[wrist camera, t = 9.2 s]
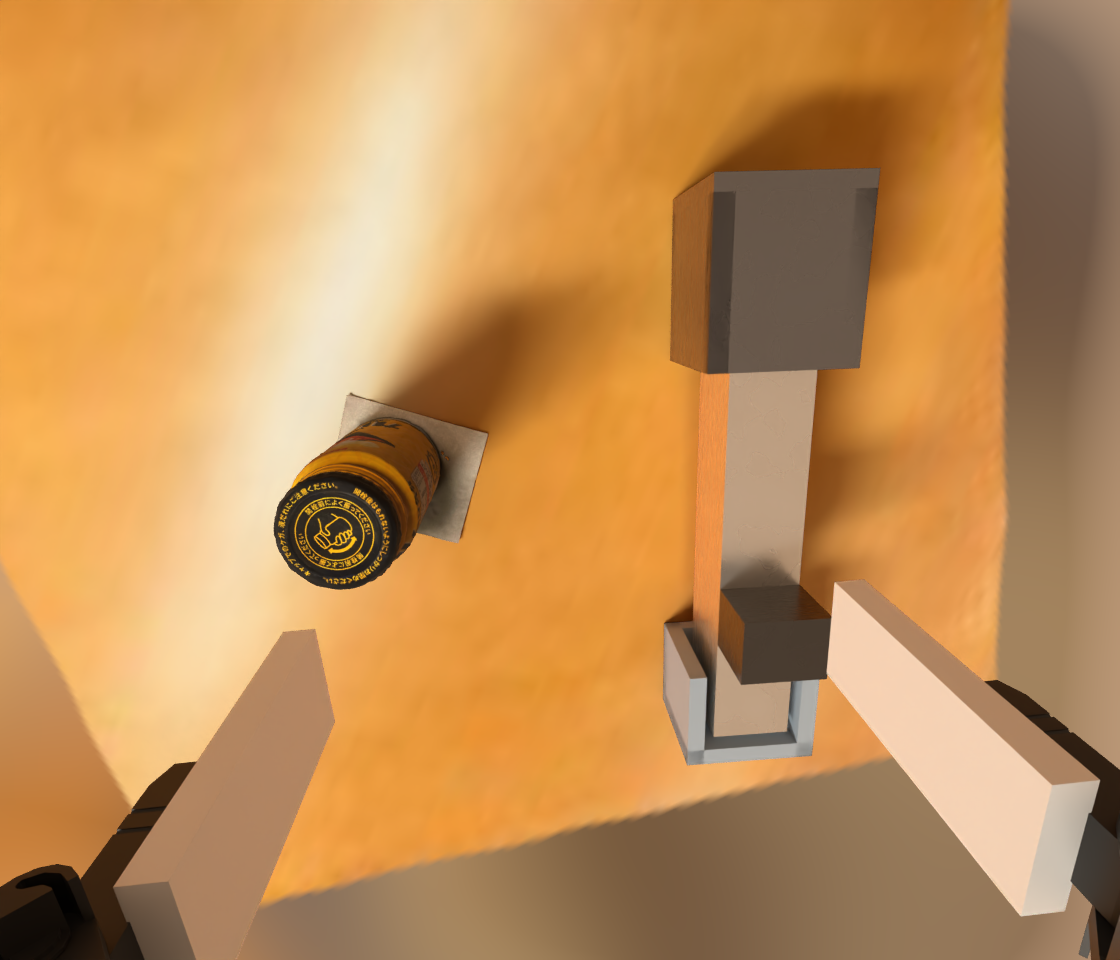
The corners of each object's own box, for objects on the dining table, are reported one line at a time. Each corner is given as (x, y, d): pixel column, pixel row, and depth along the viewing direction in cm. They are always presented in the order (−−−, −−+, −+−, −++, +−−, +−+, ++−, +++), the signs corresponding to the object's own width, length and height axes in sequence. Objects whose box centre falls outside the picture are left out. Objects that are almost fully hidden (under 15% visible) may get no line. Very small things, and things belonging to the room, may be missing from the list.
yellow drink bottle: (347, 394, 36) (266, 437, 24) (488, 433, 37) (474, 492, 25) (324, 507, 37) (237, 598, 26) (458, 541, 39) (433, 642, 27)
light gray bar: (701, 357, 35) (759, 374, 27) (777, 354, 35) (858, 370, 27) (690, 686, 41) (735, 785, 33) (755, 682, 41) (816, 778, 33)
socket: (664, 623, 41) (690, 678, 35) (775, 615, 41) (820, 670, 35) (663, 699, 43) (687, 765, 37) (770, 691, 43) (811, 755, 37)
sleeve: (673, 199, 34) (714, 171, 27) (804, 196, 34) (880, 168, 27) (670, 360, 36) (707, 374, 29) (793, 355, 37) (859, 368, 29)
